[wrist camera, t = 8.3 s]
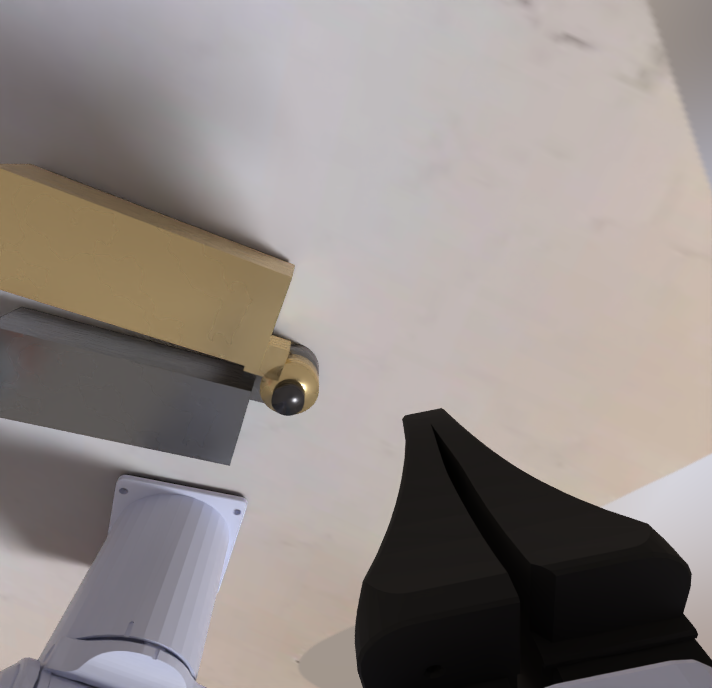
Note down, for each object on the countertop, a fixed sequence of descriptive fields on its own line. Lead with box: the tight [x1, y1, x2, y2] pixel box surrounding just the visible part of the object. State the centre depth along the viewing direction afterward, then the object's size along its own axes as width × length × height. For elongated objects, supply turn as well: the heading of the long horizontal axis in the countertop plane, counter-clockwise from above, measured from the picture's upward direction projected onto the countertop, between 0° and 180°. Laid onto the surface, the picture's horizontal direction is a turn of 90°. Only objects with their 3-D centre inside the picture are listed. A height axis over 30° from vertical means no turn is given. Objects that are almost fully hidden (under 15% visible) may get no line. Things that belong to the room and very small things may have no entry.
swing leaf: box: [0, 164, 319, 414], centre depth 19 cm, size 7×15×2 cm, turn 67°
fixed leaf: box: [0, 307, 319, 466], centre depth 20 cm, size 7×15×4 cm, turn 70°
